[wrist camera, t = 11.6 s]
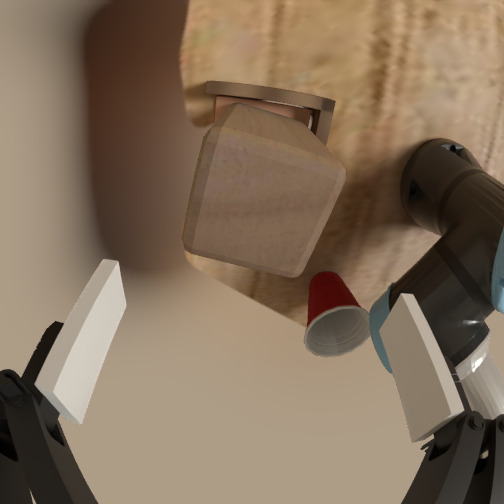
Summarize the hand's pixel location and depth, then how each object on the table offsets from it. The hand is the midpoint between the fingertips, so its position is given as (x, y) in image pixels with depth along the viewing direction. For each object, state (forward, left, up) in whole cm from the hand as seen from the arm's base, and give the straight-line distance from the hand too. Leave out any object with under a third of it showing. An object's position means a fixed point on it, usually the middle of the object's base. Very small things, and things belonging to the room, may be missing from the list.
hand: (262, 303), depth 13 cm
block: (0, 0, -29) cm, 29 cm away
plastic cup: (-24, +11, -29) cm, 39 cm away
